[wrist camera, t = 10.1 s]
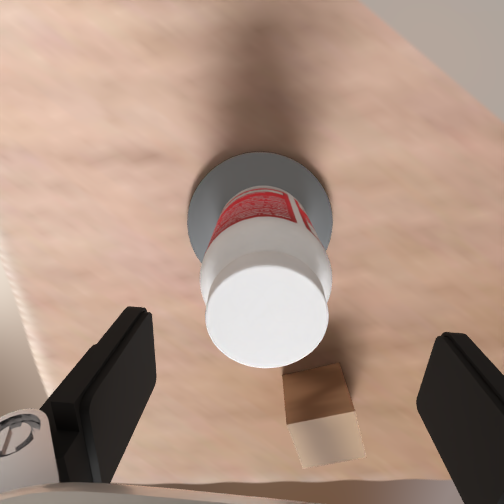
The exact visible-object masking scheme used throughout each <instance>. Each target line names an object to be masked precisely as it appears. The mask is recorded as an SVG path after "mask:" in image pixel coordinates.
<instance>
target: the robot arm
mask: <svg viewBox="0 0 504 504" xmlns="http://www.w3.org/2000/svg"><path fill="white" fill-rule="evenodd" d="M155 383H156V363H155V350H154V336H153V323H152V314H151V313H150V312H147V310H146V308H142V307H130V306H129V307H127V308H126V309H125V310H124V311H123V312H122V313H121V315H120V316H119V317H118V318H117V320H116V321H115V322H114V323H113V325H112V326H111V327H110V328H109V329H108V331H107V332H106V333H105V334H104V336H103V337H102V338H101V339H100V341H99V342H98V343H97V344H95V345H93V346H92V347H91V348H90V349H89V350H88V351H87V352H86V354H85V355H84V356H83V357H82V358H81V360H80V361H79V362H78V363H77V364H76V366H75V367H74V368H73V369H72V371H71V372H70V373H69V374H68V375H67V377H66V378H65V379H64V380H63V381H62V383H61V384H60V385H59V386H58V387H57V389H56V390H55V391H54V392H53V393H52V395H51V396H50V397H49V398H48V399H47V401H46V402H45V403H44V404H43V406H42V407H41V408H40V409H39V410H38V409H32V408H31V409H21V410H17V411H14V412H11V413H8V414H6V415H4V416H2V417H0V504H320V503H310V502H301V501H291V500H282V499H272V498H263V497H253V496H242V495H232V494H222V493H212V492H202V491H192V490H182V489H171V488H160V487H148V486H135V485H122V484H110V482H111V480H112V478H113V476H114V473H115V471H116V469H117V467H118V465H119V463H120V460H121V458H122V456H123V454H124V452H125V449H126V447H127V445H128V443H129V441H130V439H131V436H132V434H133V432H134V430H135V428H136V426H137V423H138V421H139V419H140V417H141V415H142V413H143V410H144V408H145V406H146V404H147V402H148V400H149V397H150V395H151V393H152V391H153V389H154V386H155ZM416 404H417V410H418V412H419V414H420V416H421V418H422V420H423V422H424V424H425V426H426V428H427V430H428V432H429V434H430V436H431V438H432V440H433V442H434V444H435V446H436V448H437V450H438V452H439V454H440V456H441V458H442V460H443V462H444V464H445V466H446V468H447V470H448V472H449V474H450V476H451V478H452V480H453V482H454V484H455V486H456V488H457V490H458V492H459V494H460V496H461V498H462V500H463V502H464V504H504V375H503V374H502V373H501V372H500V371H499V370H498V369H497V368H496V367H495V365H494V364H493V363H492V362H491V361H490V360H489V359H488V358H487V357H486V356H485V355H484V353H483V352H482V351H481V350H480V349H479V348H478V347H477V346H476V345H475V344H474V343H473V341H472V340H471V339H470V338H469V337H468V336H467V335H466V334H463V333H451V332H444V333H443V334H442V335H441V336H438V337H437V338H436V340H435V343H434V346H433V349H432V352H431V355H430V359H429V362H428V365H427V368H426V371H425V374H424V377H423V381H422V384H421V387H420V390H419V393H418V396H417V400H416Z"/></svg>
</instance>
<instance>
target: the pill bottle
mask: <svg viewBox="0 0 504 504" xmlns="http://www.w3.org/2000/svg"><path fill="white" fill-rule="evenodd" d="M331 287H332V270H331V265H330V261H329V258H328V256H327V253H326V251H325V249H324V247H323V245H322V243H321V241H320V240H319V238H318V236H317V234H316V232H315V230H314V228H313V226H312V224H311V222H310V220H309V218H308V215H307V213H306V212H305V210H304V208H303V207H302V205H301V204H300V202H299V201H298V200H297V199H296V198H295V197H293V196H292V195H291V194H289V193H288V192H286V191H284V190H282V189H280V188H277V187H272V186H255V187H251V188H248V189H245V190H243V191H241V192H239V193H238V194H236V195H235V196H234V197H232V198H231V199H230V200H229V201H228V203H227V204H226V205H225V207H224V208H223V210H222V212H221V214H220V217H219V219H218V222H217V224H216V227H215V229H214V232H213V235H212V237H211V240H210V242H209V245H208V248H207V250H206V252H205V255H204V258H203V261H202V265H201V270H200V288H201V293H202V296H203V299H204V302H205V304H206V312H205V320H206V327H207V330H208V333H209V335H210V337H211V339H212V341H213V343H214V344H215V345H216V346H217V348H218V349H219V350H220V351H221V352H222V353H224V354H225V355H226V356H228V357H229V358H230V359H233V360H234V361H237V362H239V363H241V364H244V365H247V366H251V367H258V368H274V367H281V366H286V365H289V364H292V363H294V362H296V361H298V360H300V359H302V358H304V357H305V356H307V355H308V354H309V353H310V352H312V351H313V350H314V349H315V348H316V347H317V346H318V344H319V343H320V341H321V340H322V338H323V336H324V334H325V332H326V329H327V325H328V317H329V313H328V306H327V302H328V299H329V296H330V293H331Z"/></svg>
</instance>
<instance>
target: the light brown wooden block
mask: <svg viewBox="0 0 504 504" xmlns="http://www.w3.org/2000/svg"><path fill="white" fill-rule="evenodd" d="M282 377H283V388H284V400H285V411H286V422H287V427H288V430H289V432H290V435H291V438H292V440H293V443H294V446H295V449H296V451H297V454H298V457H299V459H300V462H301V465H302V468H303V469H306V468H311V467H317V466H322V465H328V464H334V463H339V462H345V461H350V460H356V459H361V458H367V456H366V452H365V448H364V444H363V440H362V436H361V432H360V428H359V424H358V420H357V416H356V412H355V409H354V406H353V403H352V400H351V397H350V394H349V391H348V388H347V385H346V382H345V379H344V375H343V372H342V369H341V366H340V363H335V364H330V365H326V366H321V367H317V368H312V369H308V370H303V371H299V372H294V373H290V374H285V375H282Z"/></svg>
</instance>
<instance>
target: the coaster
mask: <svg viewBox="0 0 504 504" xmlns="http://www.w3.org/2000/svg"><path fill="white" fill-rule="evenodd" d="M255 186H272V187H277V188H280V189H282V190H284V191H286V192H288V193H289V194H291V195H292V196H293V197H295V198H296V199H297V200H298V201H299V202H300V204H301V205H302V207H303V208H304V210H305V212H306V213H307V215H308V218H309V220H310V222H311V224H312V226H313V228H314V230H315V232H316V234H317V236H318V238H319V240H320V241H321V243H322V245H323V247H324V249H325V251H326V250H327V247H328V244H329V242H330V238H331V233H332V224H333V222H332V211H331V206H330V202H329V199H328V197H327V194H326V192H325V190H324V188H323V187H322V185H321V184H320V182H319V181H318V180H317V178H316V177H315V176H314V175H313V174H312V173H311V172H310V171H309V170H308V169H306V168H305V167H304V166H303V165H301V164H300V163H298V162H296V161H295V160H293V159H291V158H288V157H286V156H283V155H280V154H276V153H270V152H250V153H244V154H241V155H237V156H234V157H232V158H230V159H227V160H225V161H224V162H222V163H220V164H219V165H217V166H216V167H215V168H214V169H212V170H211V171H210V172H209V173H208V174H207V175H206V176H205V178H204V179H203V180H202V181H201V182H200V184H199V185H198V187H197V188H196V190H195V192H194V194H193V197H192V199H191V202H190V205H189V211H188V221H187V225H188V234H189V238H190V242H191V245H192V248H193V250H194V252H195V254H196V256H197V258H198V259H199V260H200V262H201V263H202V261H203V258H204V255H205V252H206V250H207V248H208V245H209V242H210V240H211V237H212V235H213V232H214V229H215V227H216V224H217V222H218V219H219V217H220V214H221V212H222V210H223V208H224V207H225V205H226V204H227V203H228V201H229V200H230V199H231V198H232V197H234V196H235V195H236V194H238V193H239V192H241V191H243V190H245V189H248V188H251V187H255Z"/></svg>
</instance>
